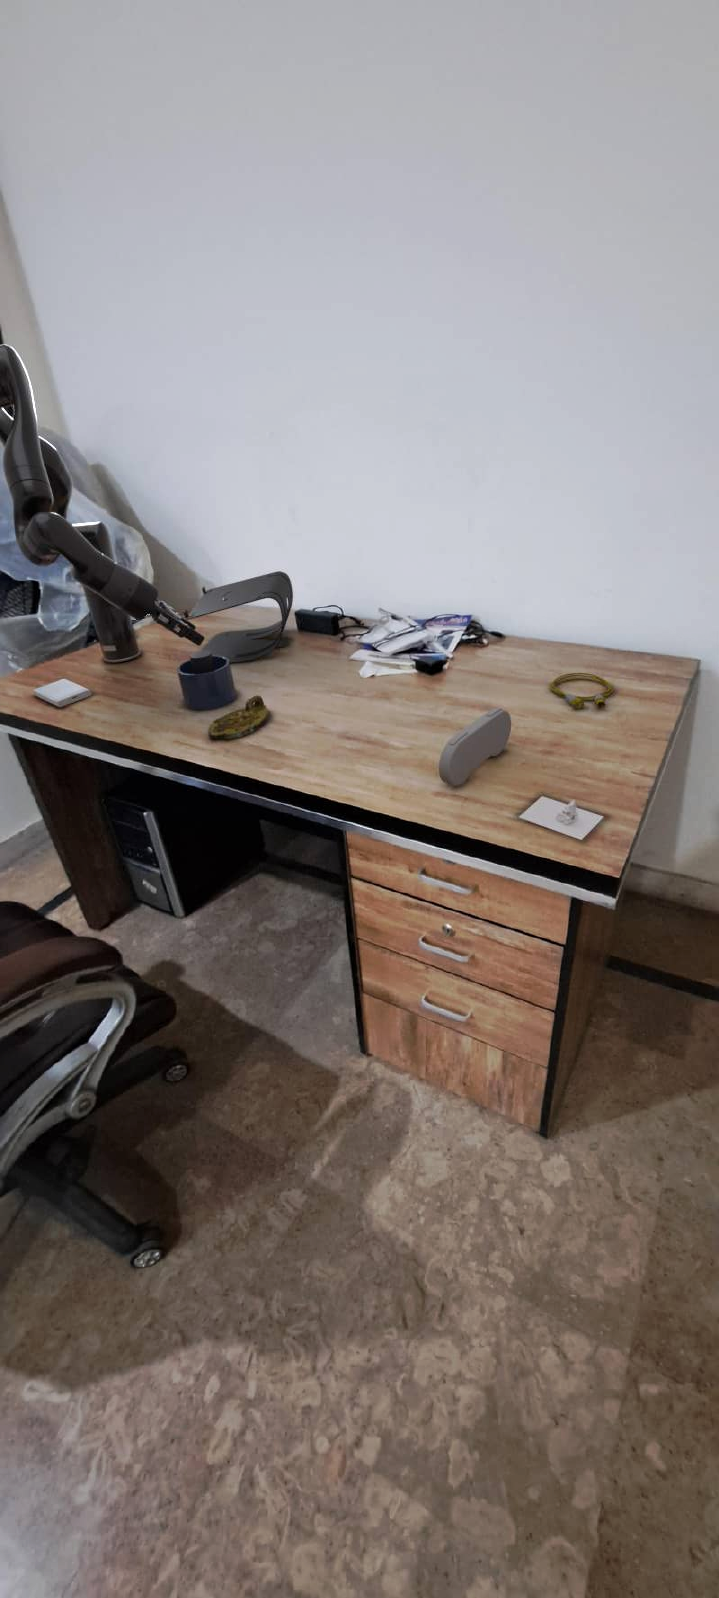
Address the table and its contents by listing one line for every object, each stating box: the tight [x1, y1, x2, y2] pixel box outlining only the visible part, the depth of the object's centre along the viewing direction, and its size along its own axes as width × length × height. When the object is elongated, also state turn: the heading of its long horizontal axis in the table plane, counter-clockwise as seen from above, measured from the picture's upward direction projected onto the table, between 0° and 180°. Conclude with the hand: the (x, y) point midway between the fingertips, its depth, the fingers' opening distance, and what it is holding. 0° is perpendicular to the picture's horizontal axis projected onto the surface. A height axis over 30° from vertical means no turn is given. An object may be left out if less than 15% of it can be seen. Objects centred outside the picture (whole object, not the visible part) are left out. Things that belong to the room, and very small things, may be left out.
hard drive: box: [32, 678, 92, 708], centre depth 157 cm, size 2×8×12 cm
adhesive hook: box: [554, 799, 579, 825], centre depth 98 cm, size 3×3×3 cm
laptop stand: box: [183, 570, 294, 664], centre depth 172 cm, size 26×24×16 cm
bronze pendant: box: [207, 694, 269, 740], centre depth 134 cm, size 9×5×15 cm
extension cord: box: [550, 672, 613, 710], centre depth 134 cm, size 12×16×2 cm
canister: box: [189, 649, 215, 674], centre depth 145 cm, size 5×5×10 cm
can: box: [176, 655, 237, 711], centre depth 146 cm, size 11×11×8 cm
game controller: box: [438, 707, 512, 787], centre depth 112 cm, size 20×2×8 cm, turn 140°
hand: (197, 635), depth 141 cm, fingers open, 8 cm apart
